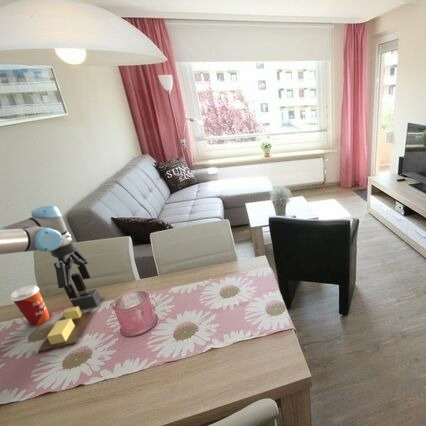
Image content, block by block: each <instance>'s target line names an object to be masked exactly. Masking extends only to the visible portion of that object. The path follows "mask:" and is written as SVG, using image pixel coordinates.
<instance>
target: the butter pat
mask: <svg viewBox="0 0 426 426" xmlns="http://www.w3.org/2000/svg"><path fill="white" fill-rule="evenodd" d="M82 313H83V312H82V310H80V308H79V306H77V307H73V306H72V307H68V308H65V309H64V311H63V312H62V314H63V317H65V318H66V319H70V318H71V319H76V318H80V317H81V315H82Z"/></svg>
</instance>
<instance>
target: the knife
mask: <svg viewBox="0 0 426 426" xmlns="http://www.w3.org/2000/svg"><path fill="white" fill-rule="evenodd" d="M70 279H71V280H72V282H73V285H74V286H75V288H76V289H75V290H76V292H77V293H79V294H80V296H85V295H89V294H88V292H87V291H88V290H87V287H86V284H85V283H84V280H83V278H82V276H81V274H80V272H76V273H72V274H70Z"/></svg>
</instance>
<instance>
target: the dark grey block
mask: <svg viewBox="0 0 426 426" xmlns="http://www.w3.org/2000/svg"><path fill="white" fill-rule="evenodd" d="M87 292H88V294H89V295H85V296H80V294H79V292H76V293H77V295H78V297H77V298H73V299H70V303H71V304H72V307H77V306H79V308H80V310H81V311H82V310H86V309H91V308H95V307H98V306H99V304H100V302H101V300H102V297H101V295H100V293H99V290H98V289H97V288H96V289H91V290H87Z"/></svg>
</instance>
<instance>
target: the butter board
mask: <svg viewBox="0 0 426 426" xmlns="http://www.w3.org/2000/svg"><path fill="white" fill-rule="evenodd" d="M92 314H93V311H92V310H90V311H86V312H82V315H81V317H80V318H76V319H72V321H73V323H74V325H75V327H74V328H73V330H72V332H71V333H70V335H69V337H68V338H67V340H66V341H65V342H61V343H57V344H53V345H51V343H50V342H49V340H48V338H47V337H46V339H45V340H44V342H43V343H42V344H41V346H40V347H39V349H38V352H39V353H44V352H48V351H52V350H56V349H60V348H65V347H68V346H69V347H70V346H73V345H76V344H77V342H78V341H79V339H80V336H81V335H82V333H83V331H84V330H85V327H86V326H87V324H88V322H89V320H90V318H91V317H92ZM65 319H66V318H65V316H62V317H60V318H59V320H58V321H61V320H65Z"/></svg>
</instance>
